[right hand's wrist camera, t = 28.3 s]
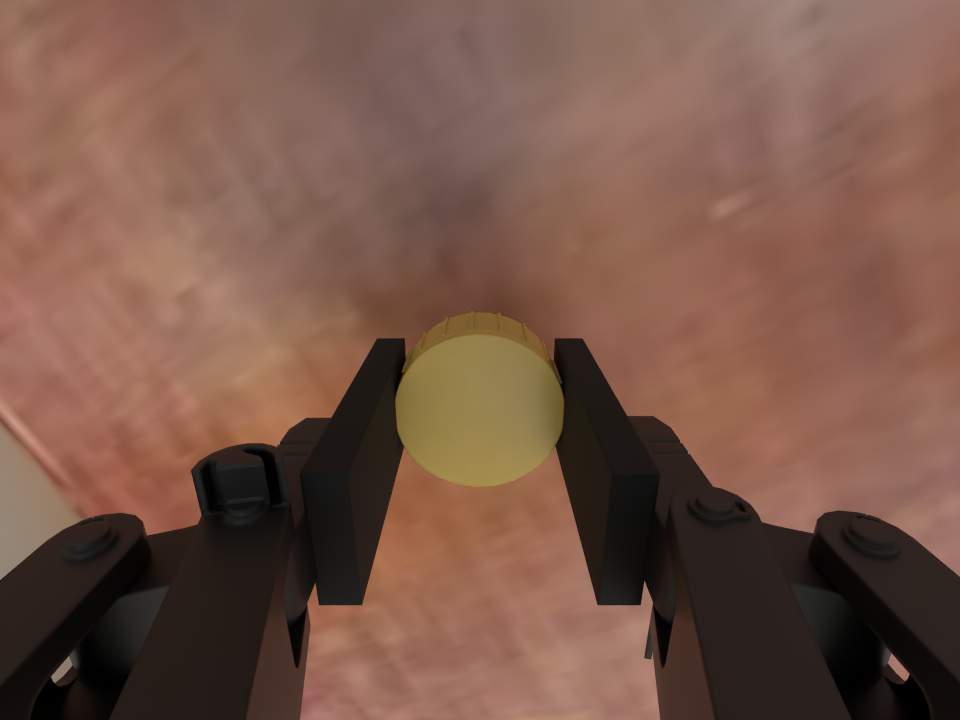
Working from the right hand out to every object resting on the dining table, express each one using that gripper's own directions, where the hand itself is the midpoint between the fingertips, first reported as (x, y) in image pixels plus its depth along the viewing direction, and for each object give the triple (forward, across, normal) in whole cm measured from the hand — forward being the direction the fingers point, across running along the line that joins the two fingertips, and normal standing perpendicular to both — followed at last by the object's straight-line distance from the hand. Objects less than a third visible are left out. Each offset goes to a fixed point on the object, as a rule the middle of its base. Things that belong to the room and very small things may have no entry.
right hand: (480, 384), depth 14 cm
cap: (-2, 0, 0) cm, 2 cm away
